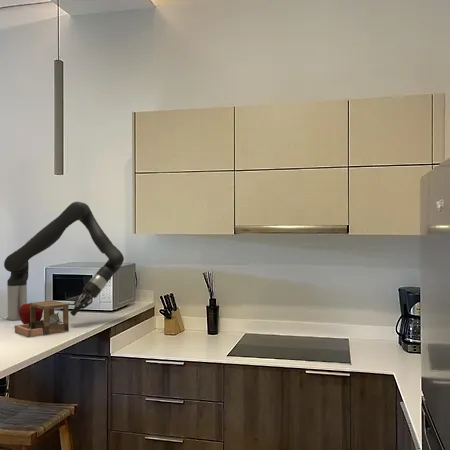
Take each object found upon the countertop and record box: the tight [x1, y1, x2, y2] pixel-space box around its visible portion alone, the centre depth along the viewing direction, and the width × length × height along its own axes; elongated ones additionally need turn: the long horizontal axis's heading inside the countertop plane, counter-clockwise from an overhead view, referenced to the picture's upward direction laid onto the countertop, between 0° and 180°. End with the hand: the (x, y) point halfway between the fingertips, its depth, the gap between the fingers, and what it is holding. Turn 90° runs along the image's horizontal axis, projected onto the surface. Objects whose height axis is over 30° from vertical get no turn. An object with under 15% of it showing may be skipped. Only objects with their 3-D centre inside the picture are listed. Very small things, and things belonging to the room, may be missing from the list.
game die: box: [41, 312, 63, 326], centre depth 231 cm, size 9×8×10 cm
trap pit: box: [14, 323, 44, 338], centre depth 224 cm, size 15×6×3 cm, turn 44°
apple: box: [19, 302, 44, 328], centre depth 241 cm, size 11×11×12 cm
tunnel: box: [29, 299, 70, 336], centre depth 230 cm, size 16×11×12 cm
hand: (72, 314), depth 238 cm, fingers closed
